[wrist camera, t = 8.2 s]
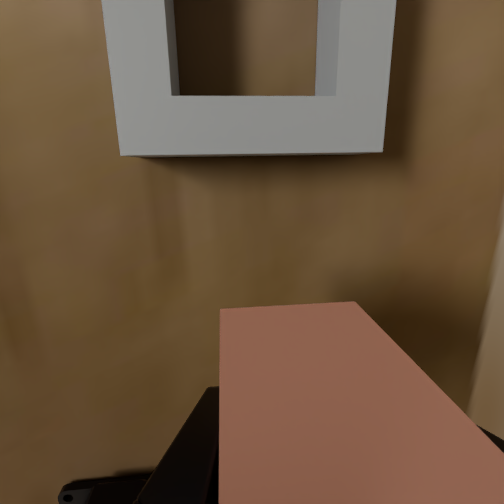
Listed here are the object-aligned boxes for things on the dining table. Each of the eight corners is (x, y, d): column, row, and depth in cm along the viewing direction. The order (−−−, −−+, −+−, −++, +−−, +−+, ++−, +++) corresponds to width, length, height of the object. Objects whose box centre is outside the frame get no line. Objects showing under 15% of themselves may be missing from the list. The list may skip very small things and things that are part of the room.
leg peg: (346, 412, 10) (572, 858, 4) (225, 422, 10) (234, 935, 3) (355, 301, 9) (694, 648, 3) (219, 308, 9) (216, 730, 2)
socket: (353, 154, 14) (382, 152, 11) (139, 157, 13) (120, 155, 10) (372, -113, 11) (413, -188, 9) (108, -128, 10) (75, -218, 8)
